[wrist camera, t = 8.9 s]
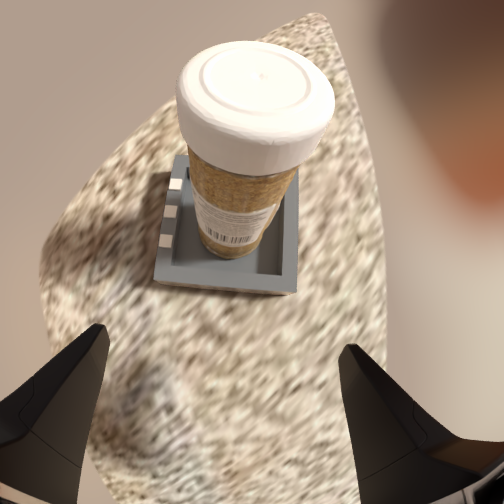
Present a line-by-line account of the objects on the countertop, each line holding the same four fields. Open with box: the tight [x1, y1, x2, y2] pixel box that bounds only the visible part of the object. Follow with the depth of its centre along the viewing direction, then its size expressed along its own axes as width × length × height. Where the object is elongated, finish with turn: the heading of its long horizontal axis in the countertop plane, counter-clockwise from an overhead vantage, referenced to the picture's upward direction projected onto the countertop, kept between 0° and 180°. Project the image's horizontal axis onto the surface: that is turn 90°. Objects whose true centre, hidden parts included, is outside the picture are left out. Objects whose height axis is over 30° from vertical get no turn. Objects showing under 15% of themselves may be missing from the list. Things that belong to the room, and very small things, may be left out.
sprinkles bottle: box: [176, 41, 335, 259], centre depth 13 cm, size 5×5×14 cm
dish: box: [153, 155, 299, 295], centre depth 19 cm, size 9×9×2 cm
